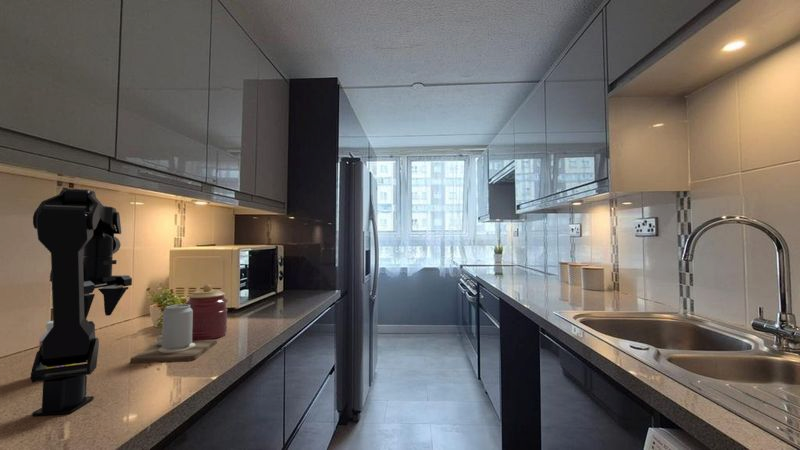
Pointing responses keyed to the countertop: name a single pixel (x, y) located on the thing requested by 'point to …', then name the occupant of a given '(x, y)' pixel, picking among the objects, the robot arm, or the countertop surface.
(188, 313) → the can
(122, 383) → the countertop surface
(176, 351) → the board
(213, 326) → the canister
